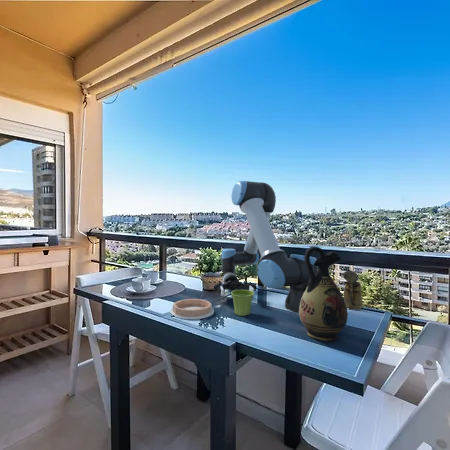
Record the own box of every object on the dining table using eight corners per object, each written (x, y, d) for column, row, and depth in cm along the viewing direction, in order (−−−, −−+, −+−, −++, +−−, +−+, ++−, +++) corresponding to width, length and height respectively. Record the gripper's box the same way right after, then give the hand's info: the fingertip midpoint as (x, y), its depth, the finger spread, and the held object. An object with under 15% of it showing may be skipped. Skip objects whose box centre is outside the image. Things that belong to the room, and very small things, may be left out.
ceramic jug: (335, 326, 106) (337, 245, 105) (355, 345, 91) (358, 250, 90) (288, 326, 106) (290, 244, 105) (301, 345, 90) (303, 249, 89)
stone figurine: (337, 310, 125) (338, 268, 125) (343, 302, 136) (344, 264, 136) (359, 314, 120) (361, 271, 120) (364, 306, 132) (365, 266, 131)
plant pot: (252, 318, 113) (253, 296, 113) (228, 316, 115) (229, 294, 115) (254, 311, 122) (255, 290, 122) (232, 309, 124) (233, 289, 124)
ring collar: (222, 310, 123) (222, 302, 123) (196, 322, 108) (196, 314, 107) (189, 302, 132) (189, 295, 132) (160, 313, 117) (160, 305, 117)
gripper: (254, 288, 151) (265, 300, 130) (206, 289, 148) (209, 301, 127) (254, 274, 151) (265, 283, 130) (206, 274, 148) (210, 284, 127)
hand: (238, 292), depth 128 cm, fingers open, 13 cm apart
